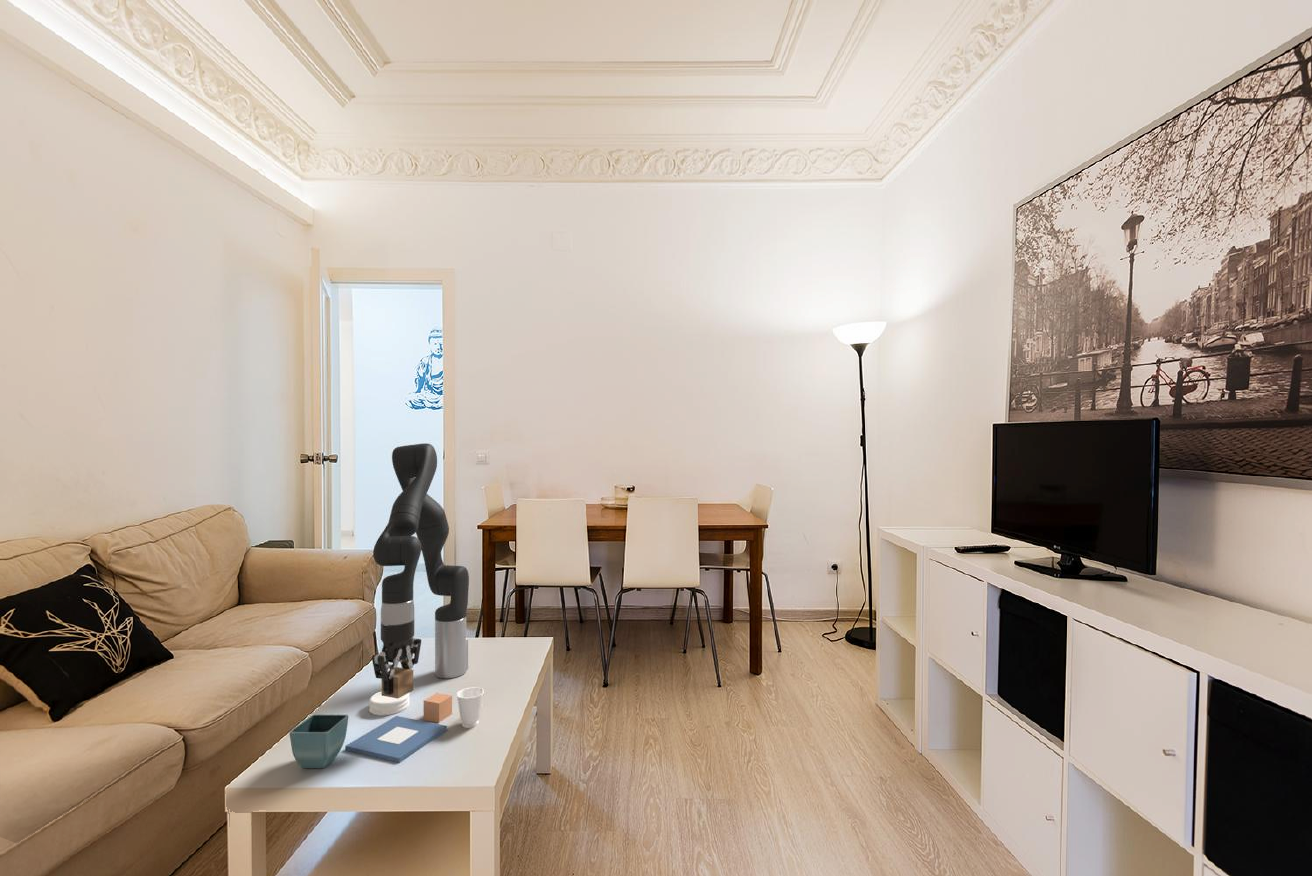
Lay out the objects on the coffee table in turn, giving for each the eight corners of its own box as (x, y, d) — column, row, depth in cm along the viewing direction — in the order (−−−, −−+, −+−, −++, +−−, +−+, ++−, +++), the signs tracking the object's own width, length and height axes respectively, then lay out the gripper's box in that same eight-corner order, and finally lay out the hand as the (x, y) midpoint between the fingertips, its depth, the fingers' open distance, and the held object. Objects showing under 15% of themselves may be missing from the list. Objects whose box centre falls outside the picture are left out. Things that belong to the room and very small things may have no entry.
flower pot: (312, 752, 139) (312, 713, 139) (349, 752, 138) (349, 714, 138) (288, 773, 130) (288, 732, 130) (327, 774, 130) (327, 732, 130)
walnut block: (397, 687, 148) (397, 667, 148) (413, 690, 146) (413, 669, 146) (381, 695, 143) (381, 674, 143) (398, 698, 141) (398, 677, 141)
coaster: (394, 718, 156) (394, 705, 156) (360, 715, 158) (360, 701, 158) (417, 701, 166) (417, 689, 166) (385, 698, 168) (385, 686, 168)
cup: (451, 730, 149) (451, 698, 149) (465, 712, 159) (465, 682, 159) (480, 730, 149) (480, 698, 149) (491, 712, 159) (491, 682, 159)
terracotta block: (436, 711, 159) (436, 692, 159) (452, 714, 158) (452, 695, 158) (423, 719, 155) (423, 700, 155) (439, 723, 153) (439, 703, 153)
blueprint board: (396, 719, 155) (396, 715, 155) (447, 730, 149) (447, 725, 149) (345, 750, 140) (345, 745, 140) (399, 762, 134) (399, 758, 134)
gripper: (407, 609, 152) (406, 676, 152) (361, 626, 139) (361, 699, 139) (430, 612, 150) (430, 680, 150) (387, 629, 136) (387, 704, 136)
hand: (397, 688), depth 144 cm, fingers closed on walnut block, 5 cm apart
